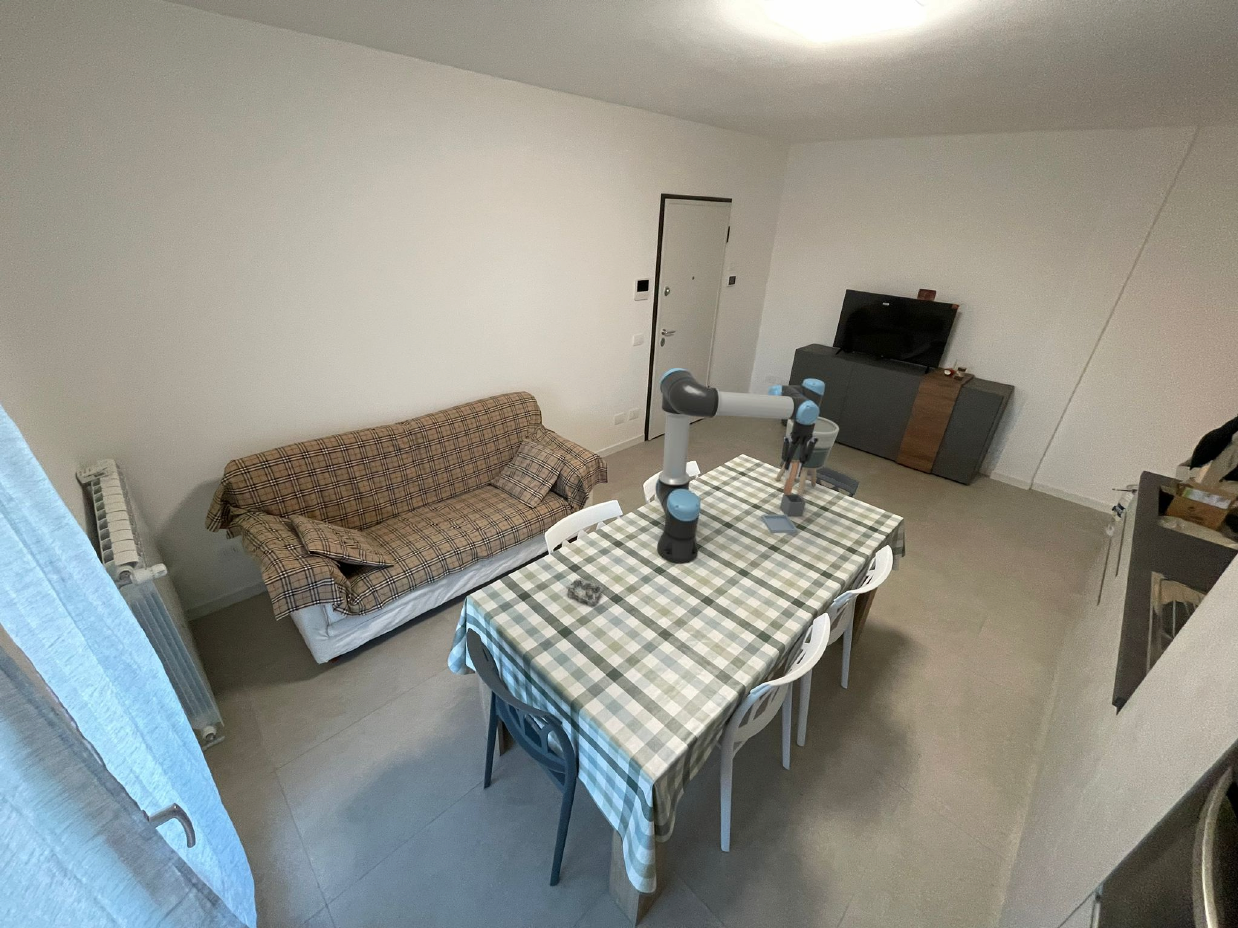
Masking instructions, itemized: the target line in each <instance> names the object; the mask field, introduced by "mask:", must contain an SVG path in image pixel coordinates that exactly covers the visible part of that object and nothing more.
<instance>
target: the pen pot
mask: <svg viewBox="0 0 1238 928" xmlns="http://www.w3.org/2000/svg"><path fill="white" fill-rule="evenodd" d="M779 505H780V506H779V509H780V510H781V511H782V513H783V515H787V516H788V517H789V518H790V517H793V518H794V517H796V518H797V517H799V518H800V517H803V514H804V511H805V507H806V501H805V499H803V497H802V498H801V496H800V495H799V494H798V493H791V494H790V495H786V494H784V493H783V494H782V498H781V501H780V504H779Z"/></svg>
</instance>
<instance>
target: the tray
mask: <svg viewBox="0 0 1238 928" xmlns="http://www.w3.org/2000/svg"><path fill="white" fill-rule="evenodd" d="M760 519H761V521H762V522H763V523H764V525H765V527H766V528H767V530H768V531H769V533H770V534H791V533H793V534H795V533H798V531H799V529H798V528H797V526H796V525H795V524H794V523H793V521H792V519H790V517H788V516H787V515H785V514H761V516H760Z"/></svg>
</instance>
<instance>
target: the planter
mask: <svg viewBox="0 0 1238 928" xmlns="http://www.w3.org/2000/svg"><path fill="white" fill-rule="evenodd" d="M793 423H794V420H791V419H787V423H786V432H785V436H789V435H790V433H791V432H792V427H793ZM839 431H840V428H839V425H838V424H837V423H835V422H834V421H832V420H830V419H828V418H825V417H821V416H818V418H817V419H816V422H815V427H814V431H813V433H812V434H813V436H815V437H816V438H818V442H817V443H816V444H815V447H814V449H813V452H812V455H811V458H810V460H809V462H807V461H806V463H805V464H803V467H802V470H800V474H799V475H800V476H799V482H798V488H797V494H799V495H800V496H801V498H802V499H803V494H804V489H805V486H806V481H807V477H808V476H807V475H808V474H809V473H808V472H809V470H810V482H811V483H810V485H811V486H812V487H816V485H817V470H820V469H822V468H823V467H824V466H825V464H826V462H827V460H828V457H829V455H830V452H831V450H832V448H833V446H834V444H835V440H836V439H837V436H838V433H840V432H839ZM791 442H792V439H790V442H789V449H790V447H791ZM809 442H810V440H809V441H808V442H807V447H808V444H809ZM807 447H806V450H807ZM788 452H789V450H788ZM799 454H800V445H799V446H798V448H797V449H796V451H795V454H794V456H793V458H792V460H796V461H797V460H799ZM784 466H785V462H784V463H783V465H782V467H780V470H779V472H778V473H777V475H776V477H775V479H774V480H775V481H777V482H779V481H780V480H781V478H782V477H783V476H784V474H785V468H784Z"/></svg>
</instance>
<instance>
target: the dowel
mask: <svg viewBox="0 0 1238 928" xmlns="http://www.w3.org/2000/svg"><path fill="white" fill-rule="evenodd" d="M791 462H792V463H793V464H792V468H791V472H790V476H789V478H786V477H785V478H786V479H785V483H784V488H783V490H782V493H783V494H786V495H790V494H792V491H793V486H794V483H795V479H796V478H795V476H796V472H797V468H798V464H799V462H798V461H796V460H792V461H791Z"/></svg>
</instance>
